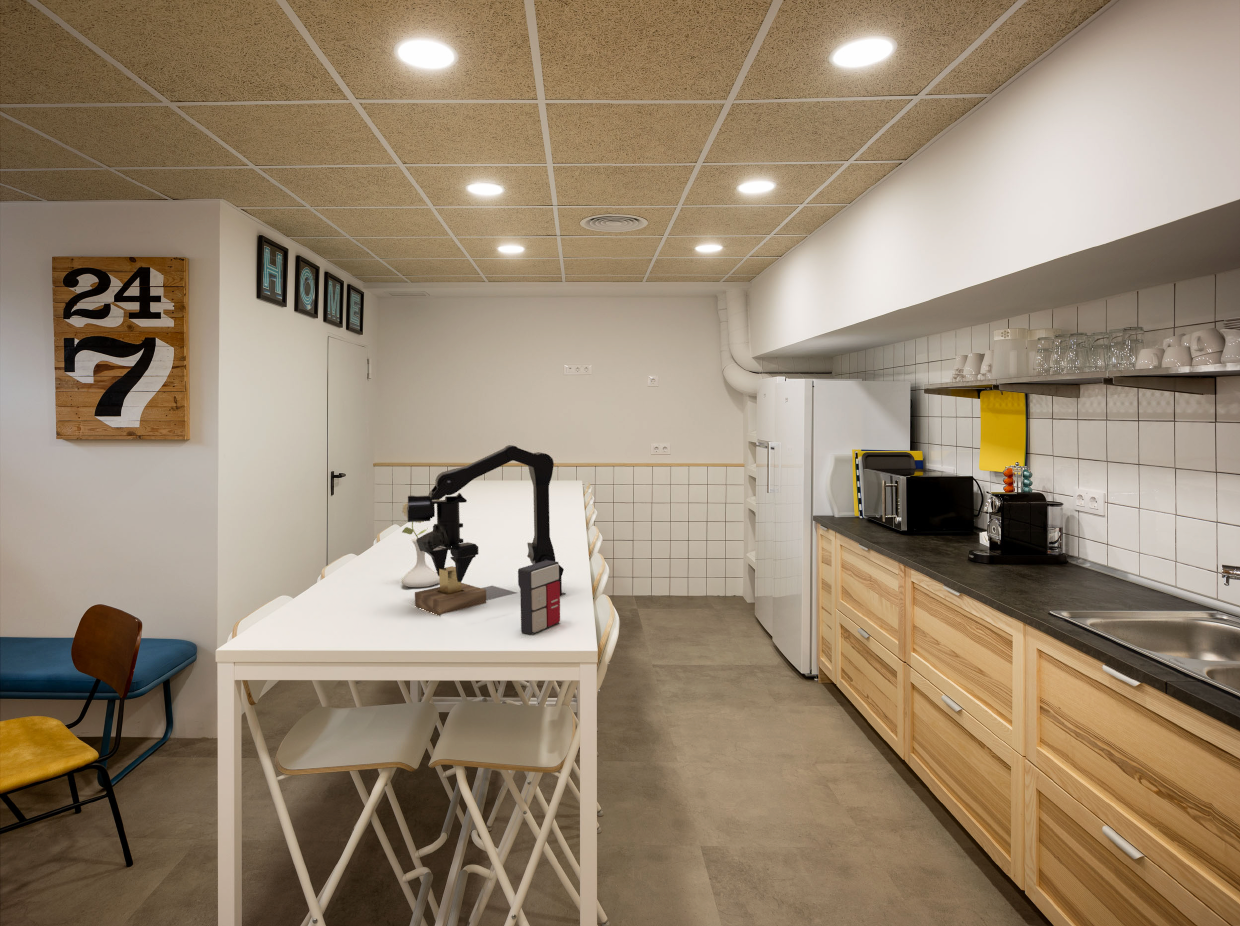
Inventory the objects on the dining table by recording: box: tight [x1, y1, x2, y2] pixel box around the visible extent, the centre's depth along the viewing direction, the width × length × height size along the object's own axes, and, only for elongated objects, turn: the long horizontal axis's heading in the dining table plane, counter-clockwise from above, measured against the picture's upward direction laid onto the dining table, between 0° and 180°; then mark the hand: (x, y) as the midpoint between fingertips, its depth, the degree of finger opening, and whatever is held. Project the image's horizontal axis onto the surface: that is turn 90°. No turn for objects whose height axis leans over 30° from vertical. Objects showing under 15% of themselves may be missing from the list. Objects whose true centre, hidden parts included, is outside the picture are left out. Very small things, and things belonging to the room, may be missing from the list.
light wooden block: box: [439, 565, 462, 595], centre depth 181 cm, size 4×4×10 cm
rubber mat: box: [481, 585, 518, 602], centre depth 192 cm, size 12×12×1 cm
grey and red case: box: [517, 560, 561, 635], centre depth 161 cm, size 11×4×15 cm, turn 148°
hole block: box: [414, 582, 487, 616], centre depth 181 cm, size 12×14×4 cm
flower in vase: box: [400, 502, 440, 588], centre depth 202 cm, size 13×11×25 cm
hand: (449, 578), depth 180 cm, fingers open, 9 cm apart
